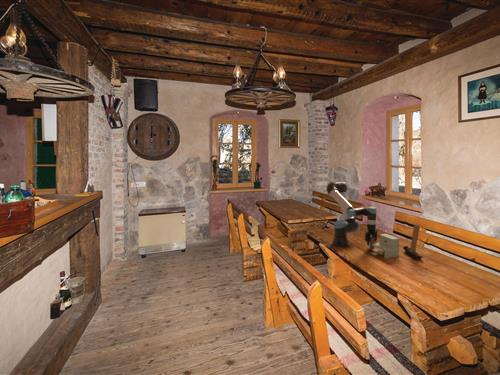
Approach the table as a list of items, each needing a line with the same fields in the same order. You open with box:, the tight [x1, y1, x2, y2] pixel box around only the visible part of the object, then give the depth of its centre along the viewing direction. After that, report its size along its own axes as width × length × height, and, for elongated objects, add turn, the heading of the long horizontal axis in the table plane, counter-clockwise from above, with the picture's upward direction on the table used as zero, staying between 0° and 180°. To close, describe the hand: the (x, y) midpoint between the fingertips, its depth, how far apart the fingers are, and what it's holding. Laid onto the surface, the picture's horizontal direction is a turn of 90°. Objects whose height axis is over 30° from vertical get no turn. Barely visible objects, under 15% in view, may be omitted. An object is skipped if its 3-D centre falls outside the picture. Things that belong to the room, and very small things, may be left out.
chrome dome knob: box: [371, 251, 380, 256], centre depth 240 cm, size 6×6×2 cm
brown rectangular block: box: [367, 235, 385, 256], centre depth 244 cm, size 18×4×12 cm, turn 19°
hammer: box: [402, 223, 424, 260], centre depth 230 cm, size 20×5×30 cm, turn 1°
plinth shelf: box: [372, 233, 400, 259], centre depth 239 cm, size 16×14×16 cm
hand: (370, 247), depth 251 cm, fingers closed on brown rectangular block, 4 cm apart
